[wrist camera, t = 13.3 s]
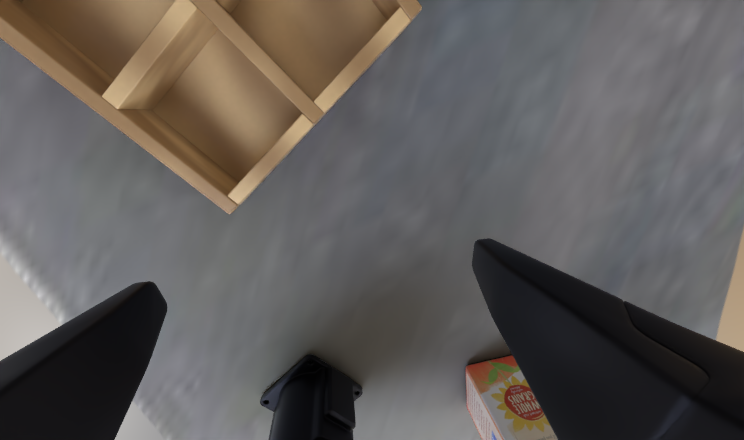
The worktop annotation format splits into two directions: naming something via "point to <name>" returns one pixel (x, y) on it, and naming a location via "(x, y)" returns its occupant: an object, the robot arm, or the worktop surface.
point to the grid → (208, 73)
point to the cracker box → (504, 402)
